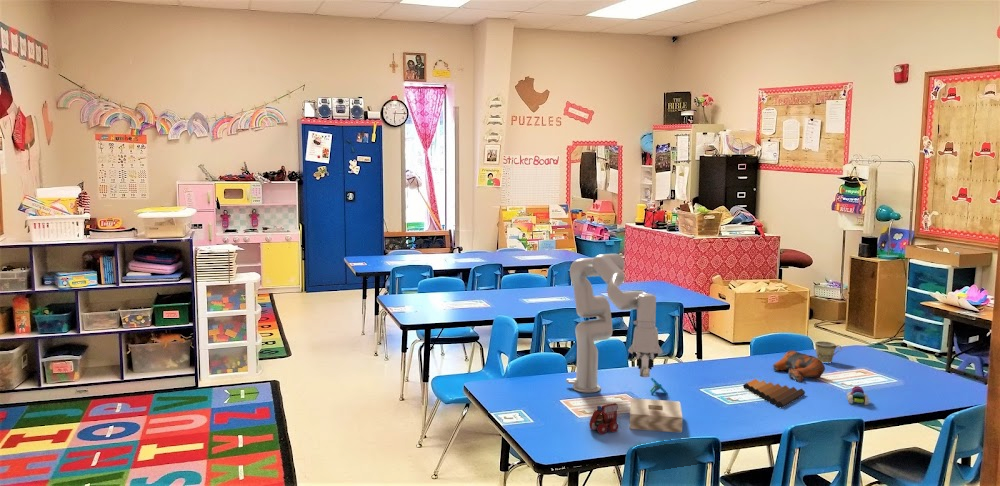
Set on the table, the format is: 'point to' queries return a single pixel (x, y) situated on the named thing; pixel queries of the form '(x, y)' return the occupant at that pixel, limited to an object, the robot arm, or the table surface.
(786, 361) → the orange lumpy piece
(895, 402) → the table surface
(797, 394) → the pan flute
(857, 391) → the multicoloured small arched block
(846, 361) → the table surface
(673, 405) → the hole block
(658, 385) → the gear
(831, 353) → the ceramic cup
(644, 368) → the steel peg
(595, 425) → the toy fire truck
